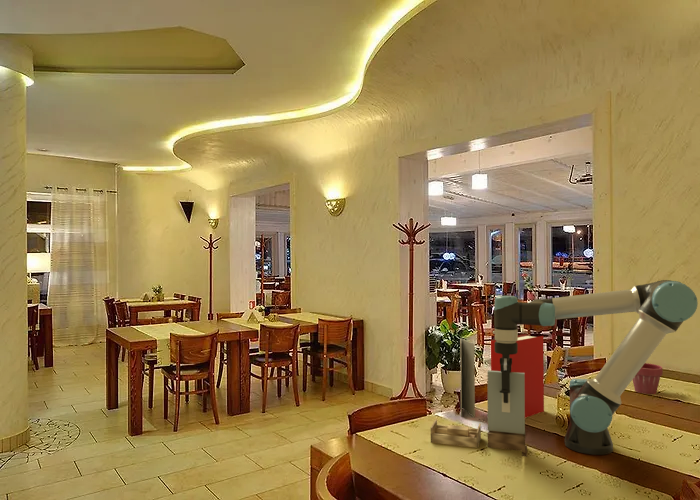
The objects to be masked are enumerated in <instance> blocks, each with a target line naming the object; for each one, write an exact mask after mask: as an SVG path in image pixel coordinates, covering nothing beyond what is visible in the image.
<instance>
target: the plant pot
mask: <svg viewBox="0 0 700 500" xmlns="http://www.w3.org/2000/svg"><path fill="white" fill-rule="evenodd" d="M662 376H663V366H661V365H658V364H654V363H648V362H645V363H644V365H643V366H642V367H641V369H640V370H639V371H638V373H637V374H636V375H635V377H634V378H633V379H632V383H633V387H634V391H635V392H637V393H639V394H644V395H656V394H657V392H658V387H659V385H660V379H661V377H662Z"/></svg>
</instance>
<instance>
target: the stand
mask: <svg viewBox="0 0 700 500" xmlns="http://www.w3.org/2000/svg"><path fill="white" fill-rule="evenodd" d="M487 448H492V449H499V450H500V449H502V450H510V451H518V452H519V451H520V452H521V456H522V457H528V445H526V433H525V434H518V433H509V432H499V431H490V430H488V431H487Z"/></svg>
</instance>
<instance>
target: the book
mask: <svg viewBox="0 0 700 500" xmlns="http://www.w3.org/2000/svg"><path fill="white" fill-rule="evenodd" d="M495 341H496V340H495V338H494V339H490V371H501V365H500V358H502V354H498V353H496V352H495ZM516 342H517V344H518V352H517V354H513V355H512V354H510V358H512V365H511V372H519V373H525V419H527V418H528V417H529V418H530V417H532V416H534V415H537V414H541V413H543V412H545V382H544V381H545V380H544V379H545V377H544V376H545V375H544V374H545V373H544V372H545V370H544V369H545V367H544V364H545V362H544V360H545V359H544V356H545V355H544V354H545V353H544V350H545V349H544V335H541V336H531V335H528V333H523V334H518V340H517V341H516Z"/></svg>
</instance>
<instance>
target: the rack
mask: <svg viewBox="0 0 700 500" xmlns="http://www.w3.org/2000/svg"><path fill="white" fill-rule="evenodd" d="M477 426H478V427H477V428H473V427H472V428H470V427H469V434H472V435H475V438H472V437H463V436H453V435H447V428H448V425H441V424H438V419H437V418H435V419H434V421H433V423H432V424H431V426H430V443H431V444H433V443H434V444H439V445H440V444H441V445H442V444H443V445H450V446H459V447H467V448H477V449H478V448H479V446H480V442H481V437H482V427H481V426H482V425H481V423H479V424H478V425H477Z"/></svg>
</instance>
